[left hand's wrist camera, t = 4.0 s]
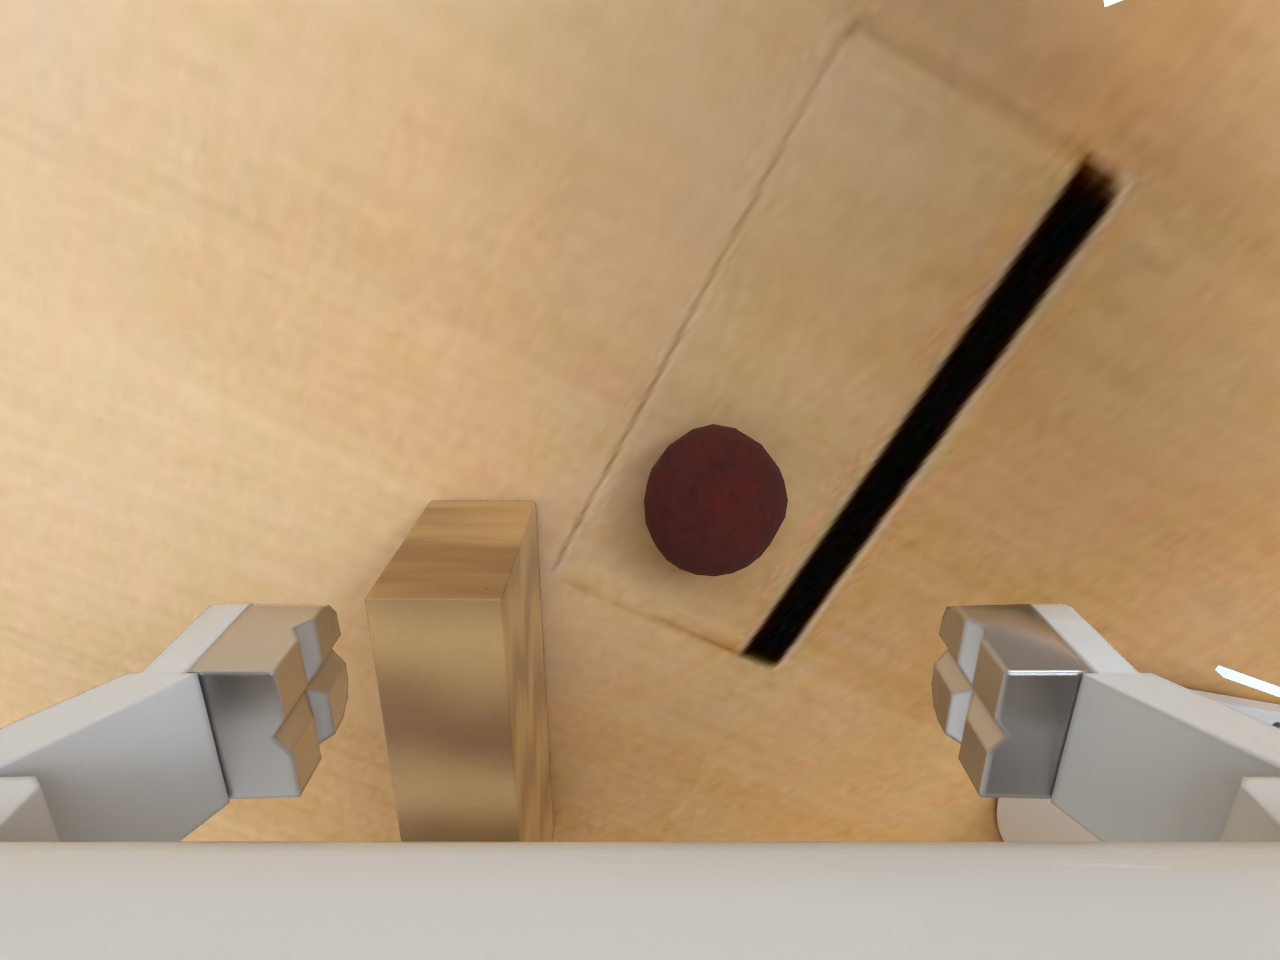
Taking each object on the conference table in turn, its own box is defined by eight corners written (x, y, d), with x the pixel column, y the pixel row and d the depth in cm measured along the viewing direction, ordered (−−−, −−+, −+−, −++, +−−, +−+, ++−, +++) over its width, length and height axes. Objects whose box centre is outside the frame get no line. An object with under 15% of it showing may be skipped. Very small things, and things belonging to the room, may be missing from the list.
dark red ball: (645, 539, 44) (645, 602, 38) (642, 410, 42) (642, 453, 35) (772, 537, 44) (795, 599, 38) (778, 407, 41) (804, 450, 35)
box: (430, 500, 43) (364, 598, 33) (535, 500, 43) (501, 599, 33) (467, 834, 53) (423, 993, 42) (553, 835, 52) (531, 994, 42)
